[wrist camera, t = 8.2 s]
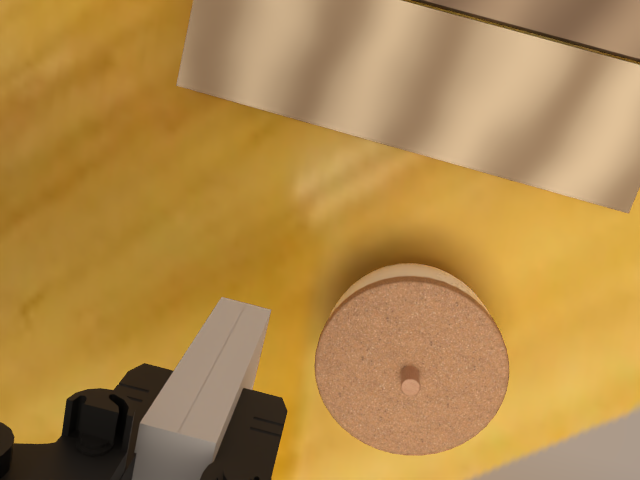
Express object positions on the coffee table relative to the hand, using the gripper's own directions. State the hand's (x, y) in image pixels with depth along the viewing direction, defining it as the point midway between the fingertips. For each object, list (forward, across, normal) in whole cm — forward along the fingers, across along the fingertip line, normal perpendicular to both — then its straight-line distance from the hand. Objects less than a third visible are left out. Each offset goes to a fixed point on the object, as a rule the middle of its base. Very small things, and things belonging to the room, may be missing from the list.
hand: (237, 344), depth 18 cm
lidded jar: (+23, +8, -7) cm, 25 cm away
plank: (+22, +5, +8) cm, 24 cm away
